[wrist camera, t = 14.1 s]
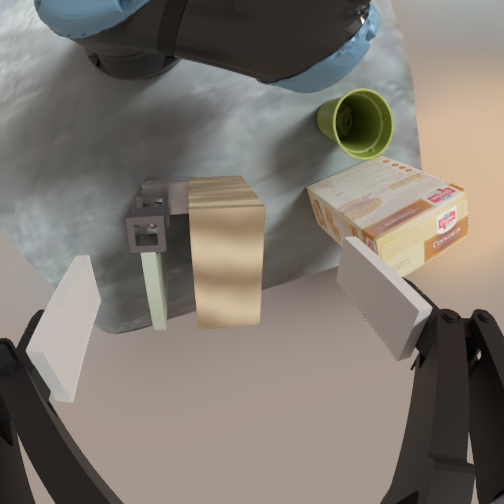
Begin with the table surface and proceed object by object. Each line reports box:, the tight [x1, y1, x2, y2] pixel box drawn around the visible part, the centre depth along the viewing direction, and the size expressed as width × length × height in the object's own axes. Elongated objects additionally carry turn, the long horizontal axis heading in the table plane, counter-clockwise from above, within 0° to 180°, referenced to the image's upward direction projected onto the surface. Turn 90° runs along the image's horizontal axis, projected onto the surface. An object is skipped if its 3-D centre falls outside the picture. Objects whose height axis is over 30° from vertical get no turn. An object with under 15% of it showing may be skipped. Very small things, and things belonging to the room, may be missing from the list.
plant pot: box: [317, 88, 394, 160], centre depth 36 cm, size 9×9×9 cm
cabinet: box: [142, 176, 265, 330], centre depth 38 cm, size 15×14×14 cm
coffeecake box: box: [306, 156, 468, 277], centre depth 38 cm, size 15×7×20 cm, turn 112°
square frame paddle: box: [125, 188, 170, 330], centre depth 36 cm, size 15×4×10 cm, turn 178°
